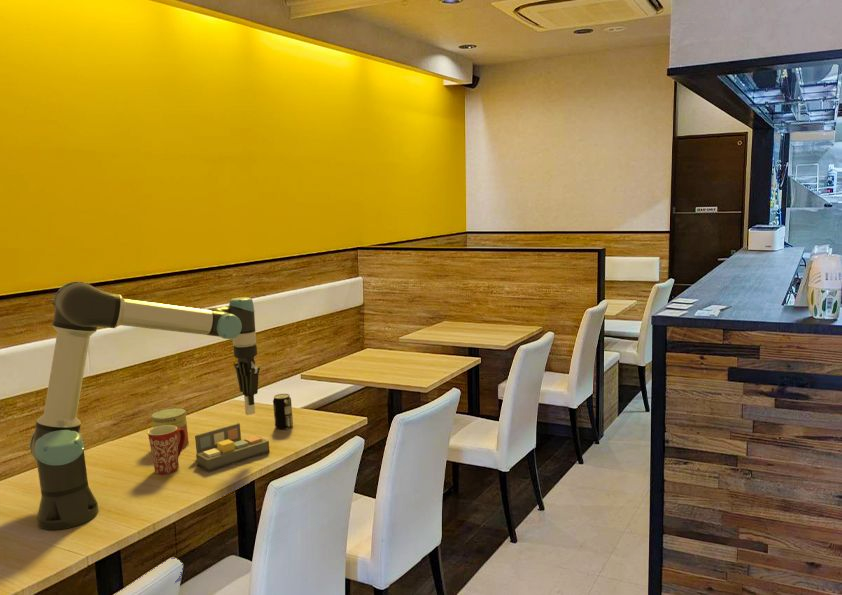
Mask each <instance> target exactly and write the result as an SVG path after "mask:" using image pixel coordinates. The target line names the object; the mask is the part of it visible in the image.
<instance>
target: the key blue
mask: <svg viewBox="0 0 842 595" xmlns="http://www.w3.org/2000/svg"><path fill="white" fill-rule="evenodd" d="M243 440H244V439H241V440H240V441H237V442H234V447H235V448H236V449H239V448H242V447H245V446H248V442H246V441H243Z"/></svg>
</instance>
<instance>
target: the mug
mask: <svg viewBox="0 0 842 595" xmlns="http://www.w3.org/2000/svg"><path fill="white" fill-rule="evenodd" d="M178 432H180V442H179V445H178V443H177V433H178ZM147 436H148V441H149V446H150V451H151V457H152V463H153V468H154V472H155V474H156V475H167V474H171V473H174V472H176V471H178V470H179V468H180V467H179V466H180V465H179V458H180V455H181V453H182V450H183V449H184V448H183V445H184V441H185V432H184V430H183V429H180V428H177V427H176V426H173V425H164V426H158V427H155V428H153V427H152V428H150V429H148V431H147ZM182 448H183V449H182Z"/></svg>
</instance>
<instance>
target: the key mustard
mask: <svg viewBox="0 0 842 595" xmlns="http://www.w3.org/2000/svg"><path fill="white" fill-rule="evenodd" d="M217 449H218V450H219V451H220V452H221V453H226V452H229V451H232V450H235V447H234V442H233V441H231V440H229V439H227V440H224V441H221V442H217Z"/></svg>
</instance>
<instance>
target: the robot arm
mask: <svg viewBox="0 0 842 595" xmlns="http://www.w3.org/2000/svg"><path fill="white" fill-rule="evenodd" d="M53 306H54V315H53V320H52V321H53V322H52V328H54V330H55V331H56V337H55V345H54V351H53V356H52V362H51V367H50V368H51V369H50V375H49V380H48V386H47V393H46V398H45V404H44V410H43V414H42V415H40V416H39V417H38V418H37V419H36V422H35V429H34V432H33V434H32V436H31V439H30V442H29V450H30V452H31V455H32V457H33V459H34V462H35V465H36V467H37V473H38V479H39V487H40V494H41V498H40V501H39V507H38V511H37V515H36V520H37V526H38V527H39V528H40V529H42V530H47V531H48V530H49V531H58V530H65V529H71V528H75V527H77V526H80V525H83V524H85V523H88V522H89V521H91V520H92V519H94V518H95V517H96V516H97V515H98V513H99V512H100V511H99V510H100V509H99V503H98V501H97V499H96V497H95V496H94V494H93V492H92V489H91V488H90V486H89V481H88V480H89V479H88V473H87V465H86V458H85V444H84V441H83V437H82V435H81V433H80V431H81V427H82V422H81V420H80V419H79V418H78V417H77V416H78V410H79V409H78V408H79V402H80V397H81V392H82V391H81V390H82V384H83V379H84V374H85V367H86V361H87V355H88V351H89V350H88V349H89V343H90V339H91V336H92V335H93V334H95V333H96V332H97V330H98V328H106V329H107V328H110V329H116V328H118V327H119V326H123V327H131V328H143V329H149V330H150V329H151V330H161V331H168V332H179V333H186V334H194V335H203V336H204V335H205V336H209V337H219V338H222V339H225V340H226V339H227V340H232V345H233V346H232V347H233V348H232V349H233V356H234V358H236V359H237V362H234V363H233V365H234V369H235V372H236V377H237V382H238V387H239V391H240V392H241V393H242V394H243V397H244V407H245V409H244V411H245V415H246V416H250V415H255V414H256V405H255V395H257V394H258V392H259V391H258V390H259V389H258V388H259V375H260V370H261V369H260V366H256V361H255V357H257V355H258V345H257V332H256V321H255V320H256V319H255V318H256V317H255V312H256V311H255V306H254V301H253V299H252V298H251V297H248V296H246V297H236V298H235V297H234V298H231V299H230V300H229V304H228V305H225V306H217V307H210V308H209V307H208V308H201V309H200V308H195V307H189V306H188V307H186V306H181V305H180V306H179V305H173V304H165V303H159V302H152V301H151V302H150V301H144V300H135V299H129V298H124V297H123V296H122V295H121V294H118V293H114V292H108V291H104V290H102V289H99V288H98V287H95V286H93V285H92V284H90V283H88V282H83V281H72V282H68V283H66V284H64V285H63V286H61V287H60V288H59V289H58V290H57V292H56V293H55V295H54V300H53Z"/></svg>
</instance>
